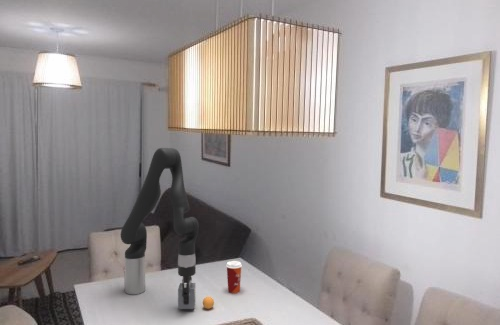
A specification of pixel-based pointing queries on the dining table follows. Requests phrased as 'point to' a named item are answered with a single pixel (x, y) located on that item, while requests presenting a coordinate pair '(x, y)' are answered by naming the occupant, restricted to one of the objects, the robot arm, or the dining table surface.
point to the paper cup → (234, 276)
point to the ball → (208, 302)
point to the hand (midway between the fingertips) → (187, 300)
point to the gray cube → (191, 297)
